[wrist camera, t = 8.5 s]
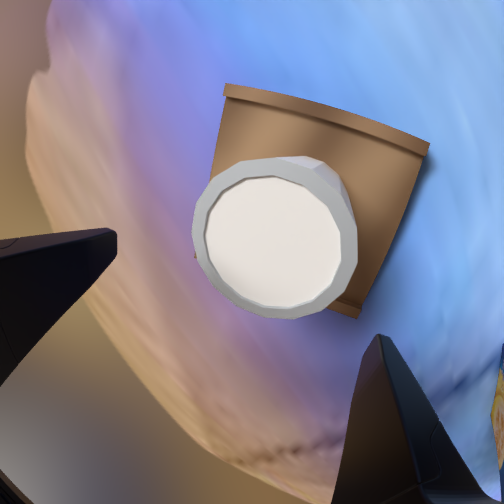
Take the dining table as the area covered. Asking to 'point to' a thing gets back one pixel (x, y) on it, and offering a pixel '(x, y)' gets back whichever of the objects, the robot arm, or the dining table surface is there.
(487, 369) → the dining table surface
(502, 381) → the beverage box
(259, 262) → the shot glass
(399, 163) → the serving board
